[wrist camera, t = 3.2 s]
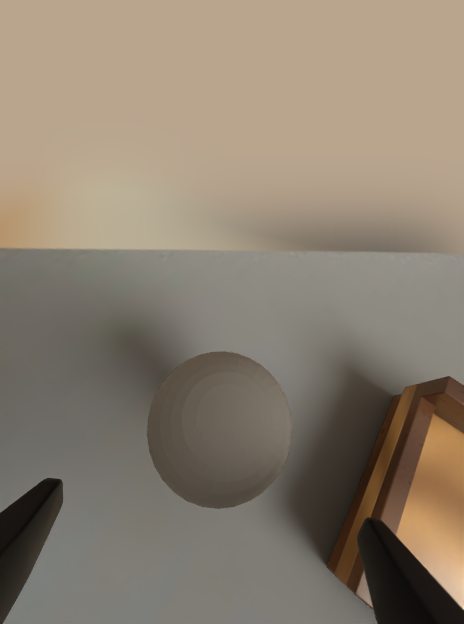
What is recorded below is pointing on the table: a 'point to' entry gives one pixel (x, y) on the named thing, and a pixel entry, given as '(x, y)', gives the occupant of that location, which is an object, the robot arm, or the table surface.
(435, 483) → the brown wooden tray
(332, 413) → the table surface
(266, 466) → the light bulb
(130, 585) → the table surface
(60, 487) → the robot arm
